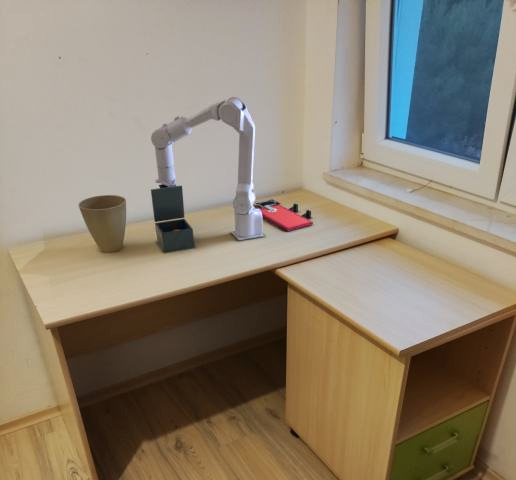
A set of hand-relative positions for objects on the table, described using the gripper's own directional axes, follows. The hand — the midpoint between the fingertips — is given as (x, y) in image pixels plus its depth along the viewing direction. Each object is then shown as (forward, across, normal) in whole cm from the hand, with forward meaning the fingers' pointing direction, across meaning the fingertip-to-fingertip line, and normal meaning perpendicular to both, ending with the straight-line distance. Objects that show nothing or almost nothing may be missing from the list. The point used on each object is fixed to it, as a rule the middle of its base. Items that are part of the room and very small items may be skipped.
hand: (170, 205), depth 178 cm
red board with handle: (+10, +1, +43) cm, 44 cm away
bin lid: (-3, +8, -2) cm, 9 cm away
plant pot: (+10, +6, -23) cm, 26 cm away
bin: (+10, +12, -2) cm, 16 cm away
